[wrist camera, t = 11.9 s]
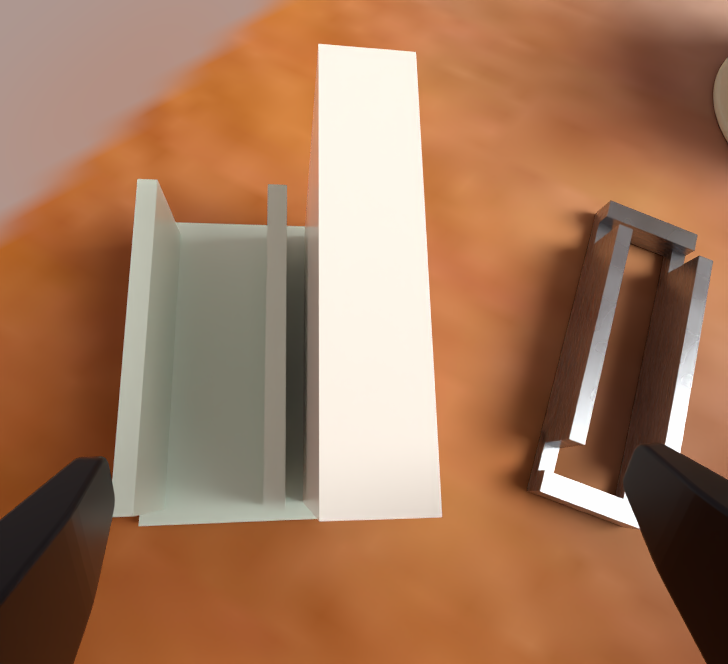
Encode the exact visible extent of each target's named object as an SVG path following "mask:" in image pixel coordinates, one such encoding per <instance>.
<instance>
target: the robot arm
mask: <svg viewBox="0 0 728 664" xmlns="http://www.w3.org/2000/svg"><path fill="white" fill-rule="evenodd" d="M623 488H624V491H625V494H626V497H627V499H628V501H629V504H630V506H631V509H632V511H633V514H634V516H635V518H636V521H637V523H638V526H639V528H640V530H641V533H642V535H643V538H644V540H645V543H646V545H647V547H648V550H649V552H650V555H651V557H652V559H653V562H654V564H655V566H656V568H657V570H658V572H659V574H660V576H661V578H662V580H663V582H664V584H665V586H666V588H667V590H668V592H669V594H670V596H671V598H672V599H673V601H674V603H675V605H676V607H677V609H678V611H679V613H680V615H681V616H682V618H683V620H684V622H685V624H686V626H687V628H688V630H689V632H690V633H691V635H692V637H693V639H694V641H695V643H696V645H697V647H698V648H699V650H700V652H701V654H702V656H703V658H704V660H705V662H706V664H728V480H727V479H726V478H724V477H722V476H720V475H718V474H717V473H715V472H713V471H711V470H710V469H708V468H706V467H704V466H702V465H701V464H699V463H697V462H695V461H693V460H692V459H690V458H688V457H686V456H685V455H683V454H681V453H679V452H677V451H676V450H674V449H672V448H670V447H668V446H667V445H665V444H662V443H642V444H639V445H638V446H637V447H636V448H635V449H634V452H633V454H632V457H631V459H630V462H629V464H628V467H627V469H626V471H625V474H624V477H623ZM114 506H115V494H114V489H113V484H112V479H111V474H110V469H109V464H108V462H107V460H106V458H104V457H101V456H96V457H78V458H76V459H74V460H73V461H72V462H71V463H69V464H68V465H67V466H66V467H64V468H63V469H62V470H61V471H59V472H58V473H57V474H56V475H55V476H53V477H52V478H51V479H50V480H48V481H47V482H46V483H45V484H43V485H42V486H41V487H40V488H39V489H37V490H36V491H35V492H34V493H32V494H31V495H30V496H29V497H28V498H26V499H25V500H24V501H23V502H21V503H20V504H19V505H18V506H16V507H15V508H14V509H13V510H12V511H10V512H9V513H8V514H7V515H5V516H4V517H3V518H2V519H0V664H74V661H75V658H76V655H77V652H78V649H79V646H80V643H81V640H82V637H83V634H84V631H85V628H86V625H87V622H88V619H89V616H90V613H91V610H92V606H93V603H94V599H95V595H96V590H97V586H98V582H99V577H100V572H101V568H102V563H103V558H104V554H105V549H106V544H107V540H108V535H109V530H110V526H111V521H112V517H113V512H114Z"/></svg>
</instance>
